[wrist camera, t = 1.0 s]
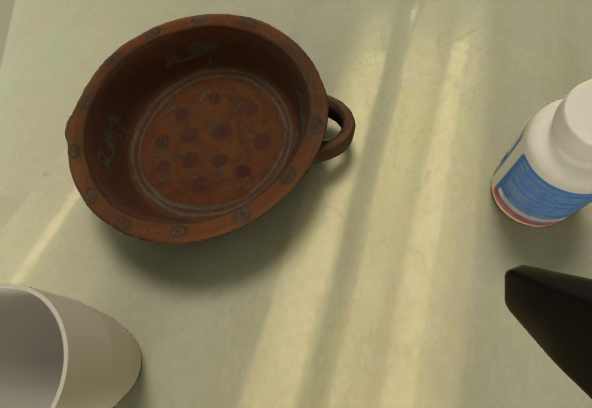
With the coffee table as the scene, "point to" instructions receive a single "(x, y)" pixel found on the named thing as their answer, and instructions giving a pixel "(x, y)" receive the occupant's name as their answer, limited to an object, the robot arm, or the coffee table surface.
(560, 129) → the pill bottle
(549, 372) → the coffee table surface
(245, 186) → the dish
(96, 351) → the cup
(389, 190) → the coffee table surface
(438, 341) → the coffee table surface
